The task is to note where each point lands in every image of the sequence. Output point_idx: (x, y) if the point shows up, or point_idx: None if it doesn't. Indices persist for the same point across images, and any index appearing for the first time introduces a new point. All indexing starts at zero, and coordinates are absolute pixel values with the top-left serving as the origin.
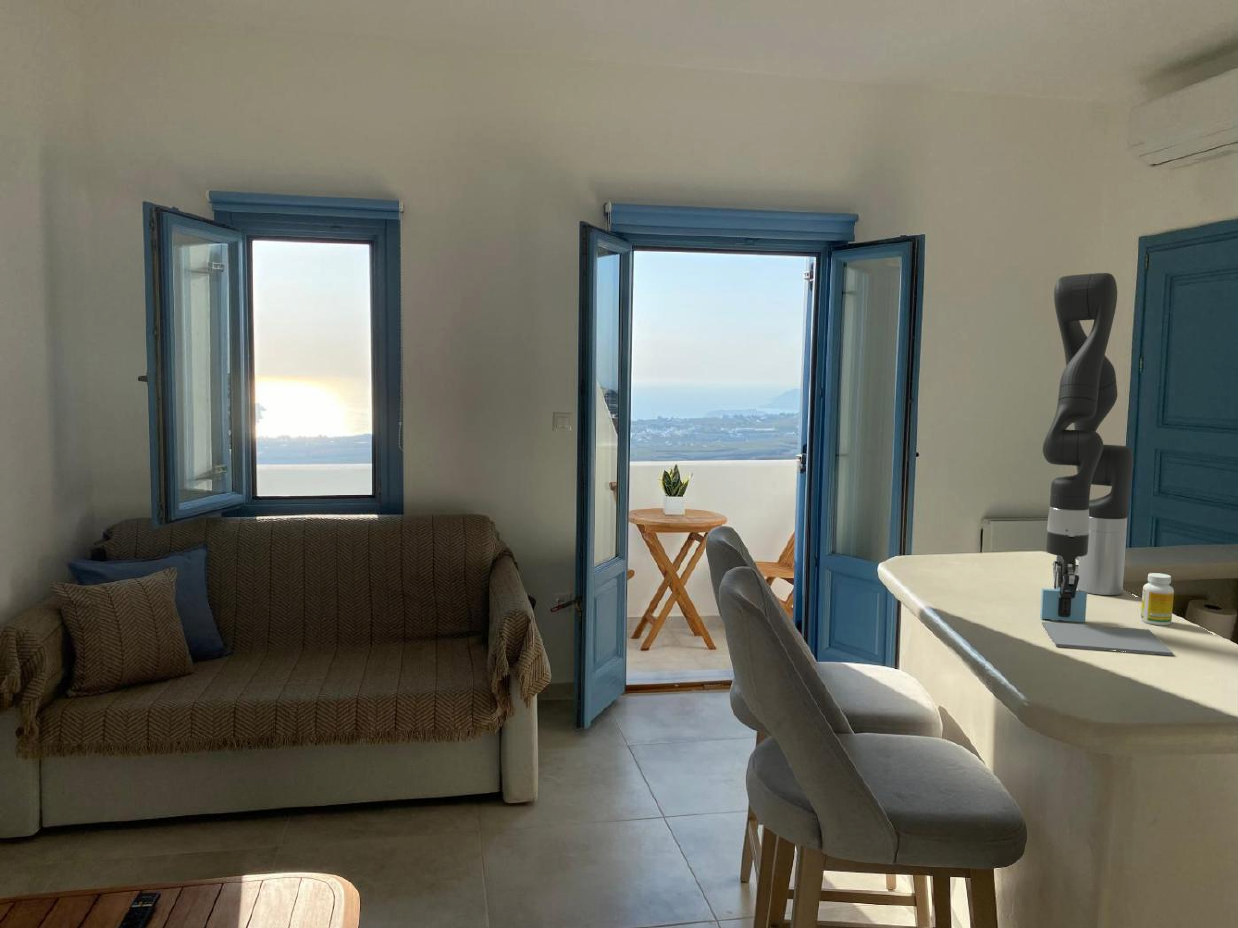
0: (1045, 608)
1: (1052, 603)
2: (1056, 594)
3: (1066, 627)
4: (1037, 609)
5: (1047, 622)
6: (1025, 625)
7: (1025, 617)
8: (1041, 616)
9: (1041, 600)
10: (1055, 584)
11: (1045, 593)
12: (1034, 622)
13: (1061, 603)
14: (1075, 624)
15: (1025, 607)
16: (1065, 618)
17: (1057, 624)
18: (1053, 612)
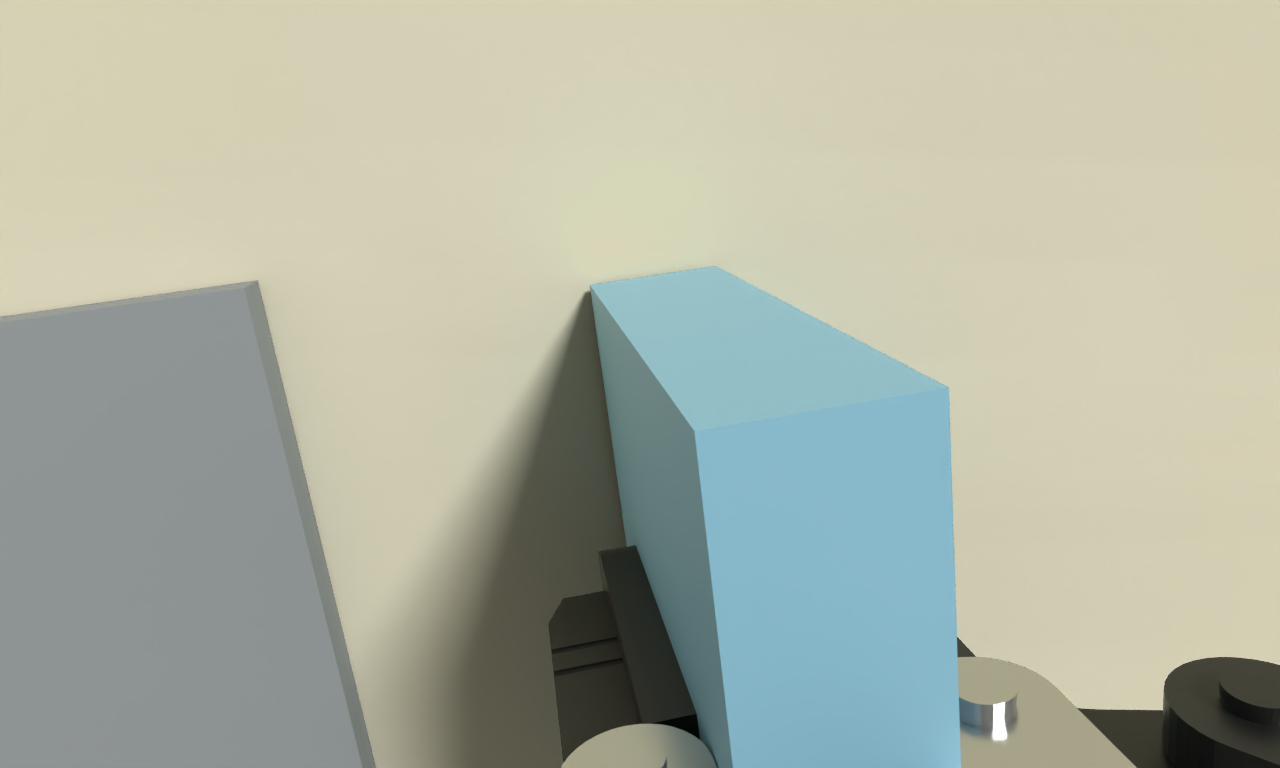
0: (618, 374)
1: (656, 531)
2: (707, 714)
3: (57, 649)
4: (1198, 233)
5: (238, 375)
6: (47, 2)
7: (639, 28)
8: (630, 285)
9: (781, 320)
10: (1273, 764)
11: (677, 462)
12: (359, 168)
13: (595, 708)
14: (332, 752)
15: (1275, 56)
16: None
17: (181, 523)
18: (628, 488)
